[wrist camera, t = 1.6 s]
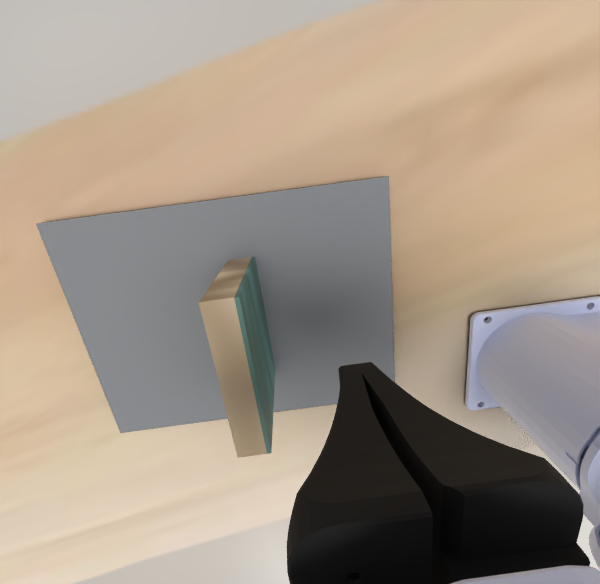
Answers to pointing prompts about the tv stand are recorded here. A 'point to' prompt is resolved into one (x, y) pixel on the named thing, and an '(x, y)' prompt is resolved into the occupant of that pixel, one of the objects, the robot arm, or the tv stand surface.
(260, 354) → the tile
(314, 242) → the mat
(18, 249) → the tv stand surface
